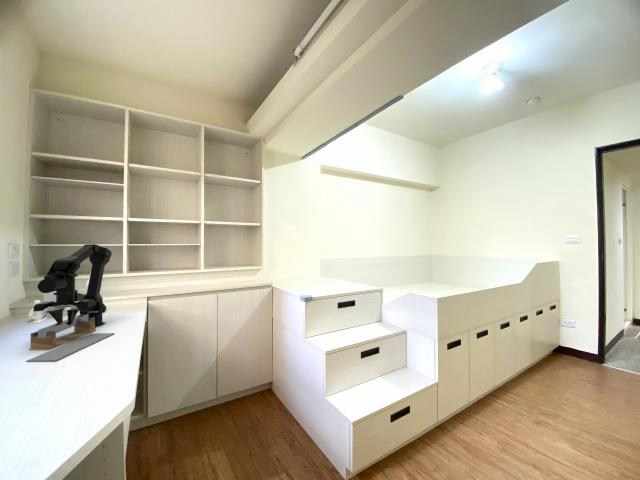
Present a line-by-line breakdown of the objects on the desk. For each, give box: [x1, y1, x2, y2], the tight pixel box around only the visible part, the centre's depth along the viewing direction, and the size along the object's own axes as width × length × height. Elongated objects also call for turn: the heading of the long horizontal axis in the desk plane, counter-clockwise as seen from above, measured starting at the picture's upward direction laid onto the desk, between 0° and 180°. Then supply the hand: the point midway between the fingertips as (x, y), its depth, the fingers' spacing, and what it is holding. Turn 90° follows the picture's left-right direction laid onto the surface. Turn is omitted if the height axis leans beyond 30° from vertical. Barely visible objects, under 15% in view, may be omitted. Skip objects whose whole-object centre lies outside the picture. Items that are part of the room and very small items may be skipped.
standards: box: [28, 317, 97, 351], centre depth 107 cm, size 22×7×6 cm, turn 2°
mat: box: [25, 332, 115, 363], centre depth 100 cm, size 10×26×1 cm, turn 2°
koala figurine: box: [28, 299, 48, 324], centre depth 131 cm, size 8×7×12 cm
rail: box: [37, 314, 88, 338], centre depth 107 cm, size 22×3×3 cm, turn 9°
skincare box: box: [42, 291, 68, 319], centre depth 140 cm, size 8×6×15 cm
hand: (65, 325), depth 107 cm, fingers open, 3 cm apart
